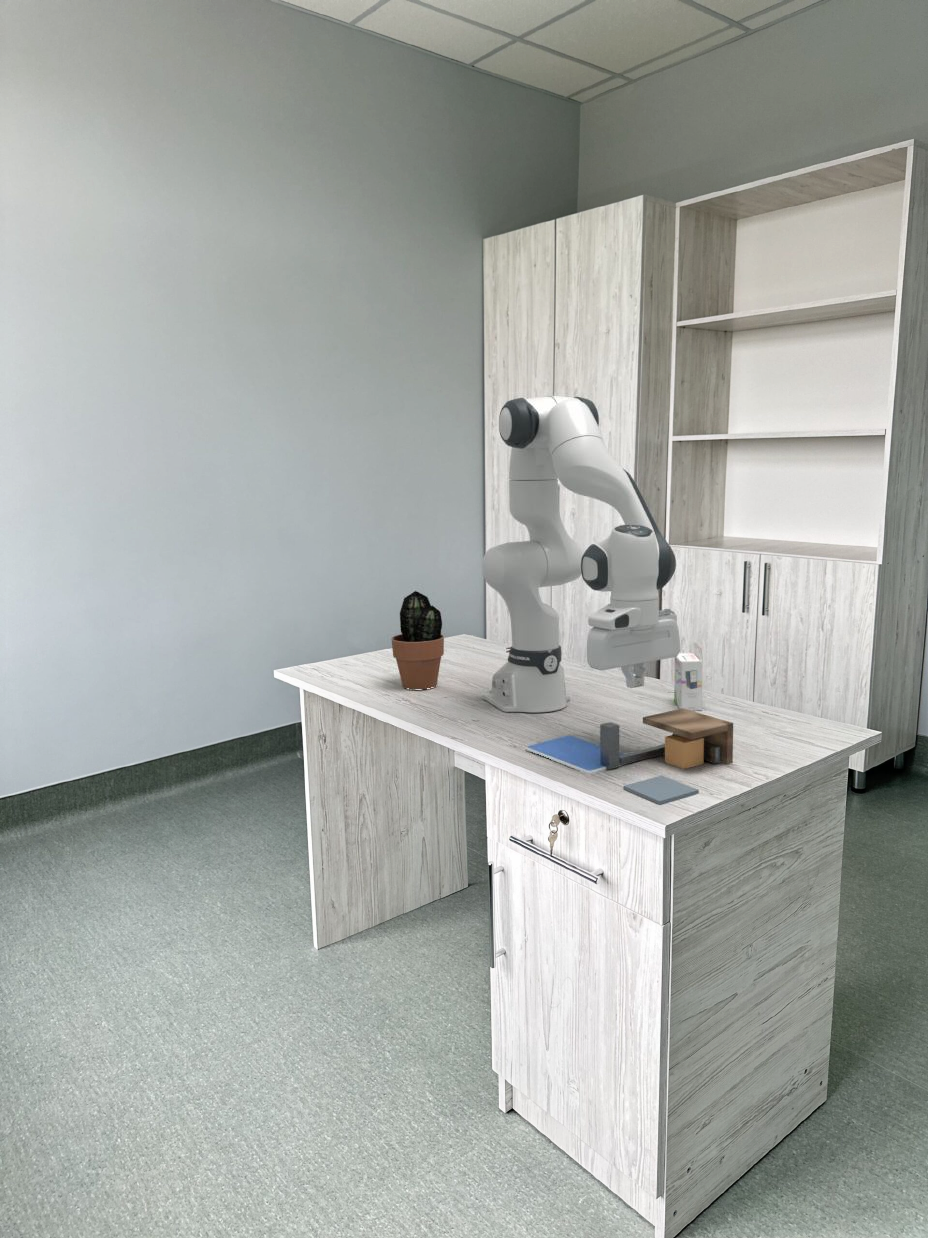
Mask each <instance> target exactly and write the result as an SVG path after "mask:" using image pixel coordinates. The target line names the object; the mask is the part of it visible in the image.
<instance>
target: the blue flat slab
mask: <svg viewBox="0 0 928 1238" xmlns="http://www.w3.org/2000/svg"><path fill="white" fill-rule="evenodd" d="M526 750H527V751H526ZM524 751H526V752H530V753H532V752H533V754H534V753H535V755H537V754H539V755H538V756H540V755H541V757H542V756H544V757H543V758H545V757H546V758H545V759H547V758H549V759H548V760H550V759H551V760H550V761H553V762H555V761H556V763H558V764H560V763H561V764H560V765H564V766H565V765H566V767H568V768H571V769H573V768H574V769H573V770H575V769H576V770H575V771H578V770H579V771H578V772H580V771H582V772H581V773H583V772H584V773H583V774H585V773H586V775H594V774H598V773H600V772H603V771H604V772H605V771H608V770H609V769H608V768H606V767H605V766H603V765H601V764H600V745H599V744H597V743H594V742H591V741H588V740H585V739H582V738H579V737H576V736H574V735H570V734H568V735H563V736H559V737H557V738H553V739H549V740H546V741H541V742H538V743H533V744H531V745H527V746H525V747H524ZM623 754H625V753H623V752H621V751H620V755H623ZM628 764H629V763H627V764H626V765H628ZM623 765H624V766H625V764H623ZM623 765H620V766H623Z"/></svg>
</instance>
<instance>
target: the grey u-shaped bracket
mask: <svg viewBox="0 0 928 1238" xmlns="http://www.w3.org/2000/svg"><path fill="white" fill-rule="evenodd" d="M599 731H600V732H599V733H600V734H599V737H600V740H599V741H600V742H599V743H600V764H601V765H603V766H605V767H606V768H608V770H611V769H615V768H619V767H620V765H621V766H623V764H624V765H628V764H630V763H633V762H637V761H641V760H645V759H650V758H653V757H658V756H662V755H665V743H663V744H658V745H655V746H650V747H648V748H643V749H639V750H636V751H632V752H631V751H630V752H627V753H624V754H623V755H620V752H621V751H620V747H621V746H620V742H621V740H620V724H617V723H614V722H611V721H609V722H605V723H600V725H599ZM671 735H674V733H672V734H671ZM704 760H705V761H708V762H710V763H713V764H718V763H722V762H721V746H718V745H715V744H712V743H709V742H706V741H704ZM627 763H628V764H627Z"/></svg>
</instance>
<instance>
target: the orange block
mask: <svg viewBox="0 0 928 1238" xmlns="http://www.w3.org/2000/svg"><path fill="white" fill-rule="evenodd" d="M664 744H665V754H664V762H665V763H667V764H670V765H672V766H675V767H677V768H681V769H683V770H684V769H689V768H692V767H696V766H699V765H704V738H702V737H701V738H697V739H693V740H692V739H689V738H686V737H683V736H680V735H677V734H674V735H672V734H670V735H666V736H664Z"/></svg>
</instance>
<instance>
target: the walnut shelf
mask: <svg viewBox="0 0 928 1238" xmlns="http://www.w3.org/2000/svg"><path fill="white" fill-rule="evenodd" d="M642 724H644V725H647V726H650V727H653V728H656V729H658V730H662V731H665V732H668V733H672V734H673V733H674V734H677V735H680V736H683V737H686V738H689V739H692V740H693V739H697V738H701V737H702V738H704V741H706V742H709V743H712V744H715V745H718V746H721V762H720V763H722V764H725V765H730V764H733V762H734V761H733V759H734V722H731V721H727V720H724V719H720V718H716V717H713V716H711V715H707V714H703V713H701V712H697V711H690V710H687V709H684V708H682V709H680V708H679V709H678V708H677V709H673V710H670V711H665V712H660V713H657V714H656V713H655V714H652V715H646V716H644V717H642Z"/></svg>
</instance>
